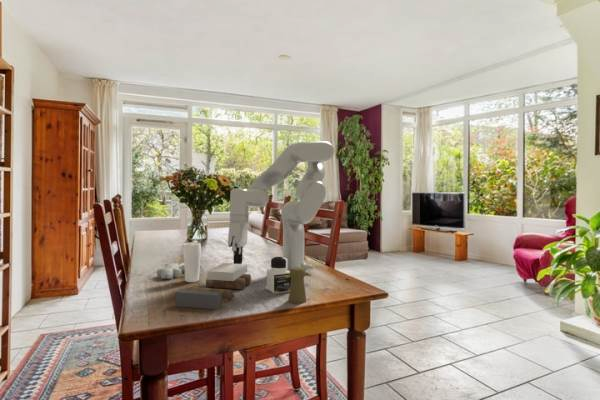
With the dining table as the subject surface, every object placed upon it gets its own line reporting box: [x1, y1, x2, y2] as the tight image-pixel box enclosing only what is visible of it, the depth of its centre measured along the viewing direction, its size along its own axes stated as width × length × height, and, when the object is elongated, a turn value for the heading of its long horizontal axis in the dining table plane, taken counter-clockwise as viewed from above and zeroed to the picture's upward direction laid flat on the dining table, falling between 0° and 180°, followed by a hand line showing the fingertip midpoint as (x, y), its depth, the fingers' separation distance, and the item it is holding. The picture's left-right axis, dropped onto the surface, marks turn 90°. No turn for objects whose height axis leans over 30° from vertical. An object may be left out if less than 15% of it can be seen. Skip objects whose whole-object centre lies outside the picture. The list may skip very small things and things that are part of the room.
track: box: [205, 273, 252, 303], centre depth 125 cm, size 14×23×4 cm, turn 168°
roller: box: [189, 286, 233, 302], centre depth 116 cm, size 14×4×4 cm, turn 78°
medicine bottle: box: [266, 256, 291, 295], centre depth 126 cm, size 7×7×12 cm
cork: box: [288, 267, 307, 305], centre depth 114 cm, size 6×6×11 cm
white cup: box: [182, 241, 202, 283], centre depth 137 cm, size 7×7×15 cm
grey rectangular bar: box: [175, 288, 223, 311], centre depth 108 cm, size 14×3×4 cm, turn 78°
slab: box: [206, 262, 248, 281], centre depth 130 cm, size 10×14×3 cm
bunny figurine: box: [156, 262, 184, 280], centre depth 145 cm, size 10×5×15 cm
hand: (237, 263), depth 141 cm, fingers closed
